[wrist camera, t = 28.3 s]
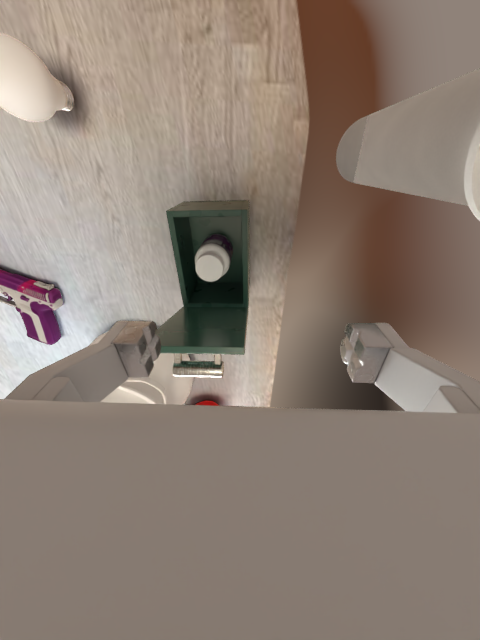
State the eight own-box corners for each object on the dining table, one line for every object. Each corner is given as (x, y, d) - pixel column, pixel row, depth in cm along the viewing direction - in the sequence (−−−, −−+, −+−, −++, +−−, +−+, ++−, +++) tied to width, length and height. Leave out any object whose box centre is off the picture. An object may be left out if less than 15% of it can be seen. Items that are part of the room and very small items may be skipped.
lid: (137, 345, 23) (144, 387, 25) (244, 347, 23) (244, 389, 24) (182, 306, 38) (185, 334, 39) (248, 307, 37) (248, 335, 39)
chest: (183, 201, 37) (165, 210, 30) (249, 200, 37) (247, 209, 29) (195, 284, 46) (183, 307, 38) (249, 284, 45) (248, 308, 38)
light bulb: (57, 132, 33) (-18, 121, 24) (29, 66, 30) (-71, 23, 20) (100, 126, 33) (41, 113, 24) (78, 58, 29) (-3, 10, 20)
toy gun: (-39, 302, 51) (-55, 238, 43) (64, 337, 55) (66, 284, 47) (-58, 310, 48) (-79, 243, 40) (52, 347, 52) (52, 292, 44)
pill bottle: (234, 262, 42) (230, 286, 34) (205, 264, 42) (194, 287, 34) (231, 231, 39) (225, 249, 31) (200, 233, 39) (186, 251, 31)
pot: (131, 296, 48) (80, 351, 34) (219, 361, 57) (207, 426, 43) (79, 357, 58) (24, 418, 44) (159, 403, 67) (135, 466, 53)
